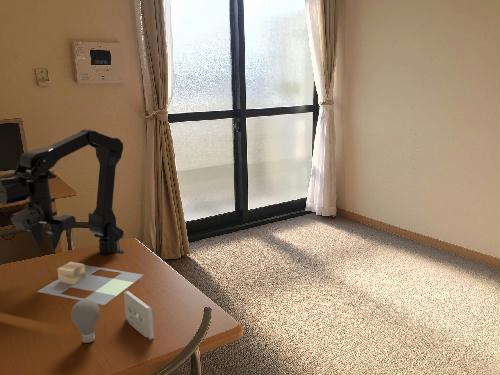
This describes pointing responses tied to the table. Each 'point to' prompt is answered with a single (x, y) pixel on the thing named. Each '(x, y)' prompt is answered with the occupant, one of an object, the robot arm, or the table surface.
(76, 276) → the maple block
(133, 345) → the table surface
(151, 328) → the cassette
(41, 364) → the table surface
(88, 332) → the light bulb
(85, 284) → the board
